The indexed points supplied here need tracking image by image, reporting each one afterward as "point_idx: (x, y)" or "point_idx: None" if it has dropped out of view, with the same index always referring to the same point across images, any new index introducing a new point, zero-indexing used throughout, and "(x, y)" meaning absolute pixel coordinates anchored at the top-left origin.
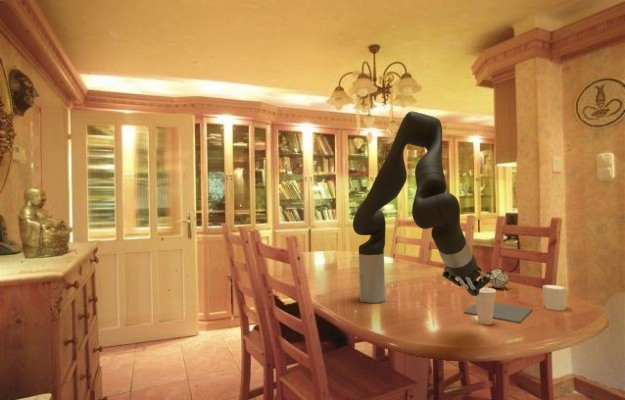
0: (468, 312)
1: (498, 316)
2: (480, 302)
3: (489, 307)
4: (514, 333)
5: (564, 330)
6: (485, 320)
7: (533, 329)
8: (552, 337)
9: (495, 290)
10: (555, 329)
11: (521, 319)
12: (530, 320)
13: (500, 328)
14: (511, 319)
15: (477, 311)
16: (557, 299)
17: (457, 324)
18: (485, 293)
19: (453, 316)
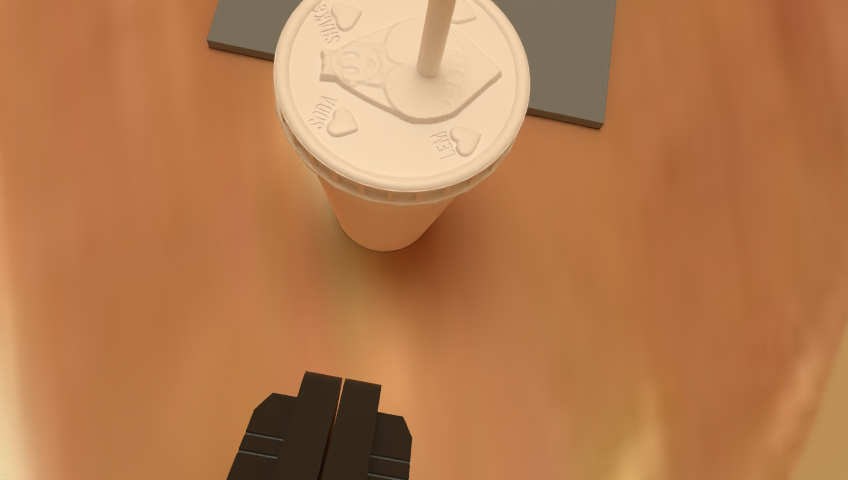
0: (242, 47)
1: None
2: (366, 209)
3: (441, 210)
4: (598, 362)
5: (845, 156)
6: (394, 246)
7: (691, 217)
8: (812, 328)
9: (522, 63)
10: (800, 159)
11: (606, 70)
12: (647, 39)
13: (499, 294)
14: (548, 97)
15: (331, 204)
16: None
17: (187, 348)
18: (430, 186)
19: (135, 158)
